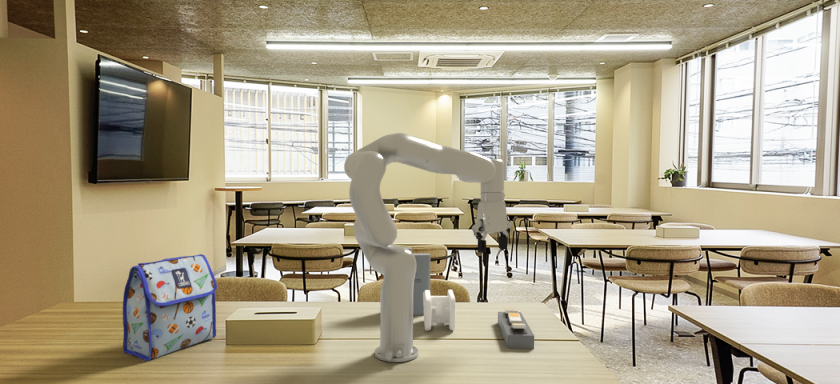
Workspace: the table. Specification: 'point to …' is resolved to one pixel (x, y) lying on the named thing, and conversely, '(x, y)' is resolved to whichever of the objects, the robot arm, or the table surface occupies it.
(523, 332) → the power strip
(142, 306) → the lunch bag
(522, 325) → the plate
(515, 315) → the middle rocker
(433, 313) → the cable organizer
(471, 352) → the table surface
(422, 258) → the blue-grey tall flat block
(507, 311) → the far rocker
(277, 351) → the table surface
